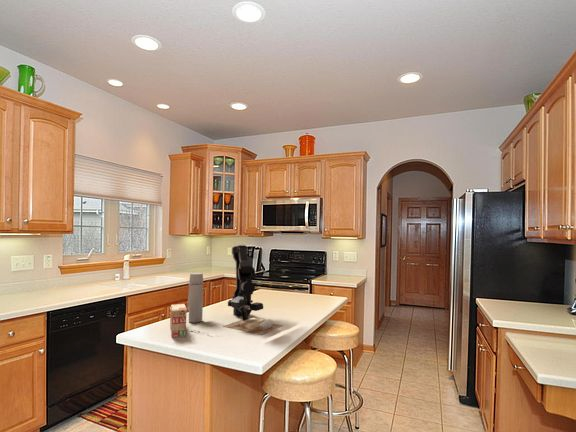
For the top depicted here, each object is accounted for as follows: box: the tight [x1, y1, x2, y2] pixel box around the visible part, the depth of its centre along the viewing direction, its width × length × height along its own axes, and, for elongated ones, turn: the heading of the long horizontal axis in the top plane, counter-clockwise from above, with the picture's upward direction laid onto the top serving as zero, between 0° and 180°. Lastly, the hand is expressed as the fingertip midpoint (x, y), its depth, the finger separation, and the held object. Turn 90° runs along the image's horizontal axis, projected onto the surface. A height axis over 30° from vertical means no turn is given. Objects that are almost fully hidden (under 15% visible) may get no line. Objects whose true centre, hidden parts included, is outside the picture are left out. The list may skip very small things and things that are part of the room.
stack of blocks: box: [169, 303, 188, 339], centre depth 163 cm, size 21×6×12 cm, turn 21°
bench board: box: [222, 319, 284, 336], centre depth 165 cm, size 24×18×2 cm
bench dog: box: [261, 319, 273, 331], centre depth 161 cm, size 2×7×4 cm, turn 147°
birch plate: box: [240, 317, 265, 329], centre depth 166 cm, size 7×10×2 cm
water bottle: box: [186, 272, 204, 324], centre depth 180 cm, size 9×8×25 cm
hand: (244, 322), depth 168 cm, fingers closed
